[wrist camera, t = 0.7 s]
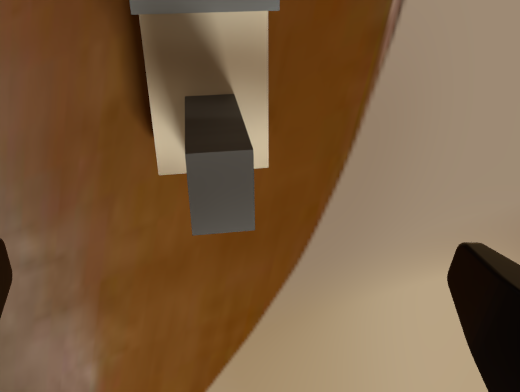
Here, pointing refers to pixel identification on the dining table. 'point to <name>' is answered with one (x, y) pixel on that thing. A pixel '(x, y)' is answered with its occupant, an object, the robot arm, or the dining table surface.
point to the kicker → (209, 101)
